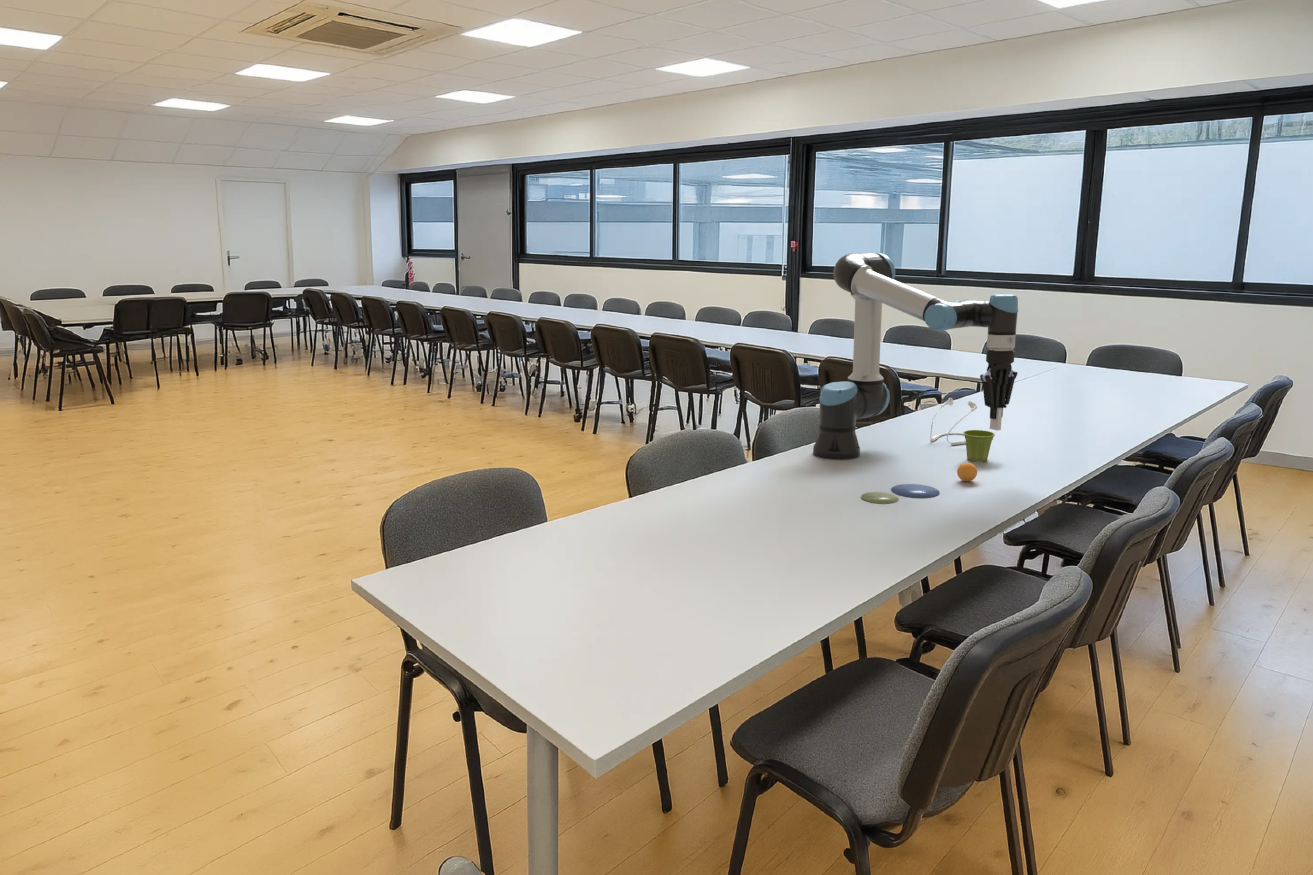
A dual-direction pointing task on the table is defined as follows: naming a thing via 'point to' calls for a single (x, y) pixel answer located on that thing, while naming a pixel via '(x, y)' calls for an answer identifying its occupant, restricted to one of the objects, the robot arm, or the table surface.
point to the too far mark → (879, 497)
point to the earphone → (950, 402)
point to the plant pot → (978, 444)
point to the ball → (967, 472)
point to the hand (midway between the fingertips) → (995, 429)
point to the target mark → (915, 490)
